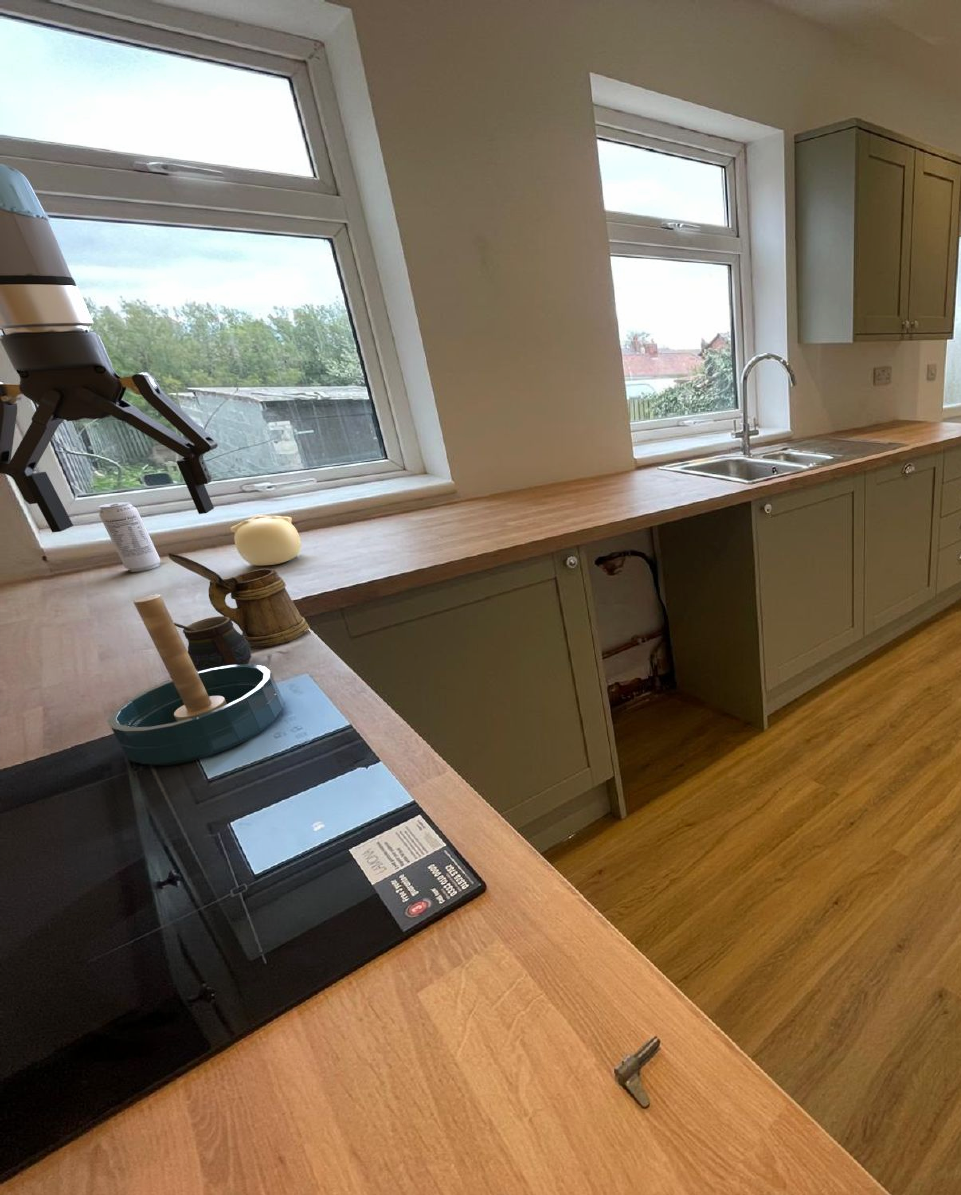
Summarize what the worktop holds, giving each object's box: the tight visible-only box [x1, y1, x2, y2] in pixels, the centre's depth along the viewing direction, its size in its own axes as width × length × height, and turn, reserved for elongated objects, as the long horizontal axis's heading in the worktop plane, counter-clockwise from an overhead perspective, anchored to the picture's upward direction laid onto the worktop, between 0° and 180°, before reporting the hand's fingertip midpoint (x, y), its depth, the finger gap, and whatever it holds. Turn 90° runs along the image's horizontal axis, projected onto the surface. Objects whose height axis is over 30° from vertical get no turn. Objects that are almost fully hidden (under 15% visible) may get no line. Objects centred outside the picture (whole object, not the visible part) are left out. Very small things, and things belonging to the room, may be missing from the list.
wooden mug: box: [168, 552, 310, 649], centre depth 104 cm, size 9×14×18 cm, turn 155°
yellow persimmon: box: [230, 514, 302, 566], centre depth 145 cm, size 11×12×11 cm
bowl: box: [107, 663, 284, 766], centre depth 82 cm, size 16×16×6 cm
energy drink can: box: [98, 500, 161, 573], centre depth 144 cm, size 6×6×15 cm
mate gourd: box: [174, 615, 252, 672], centre depth 97 cm, size 7×8×10 cm
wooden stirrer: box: [132, 593, 227, 722], centre depth 80 cm, size 5×5×18 cm
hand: (137, 520), depth 78 cm, fingers open, 13 cm apart
